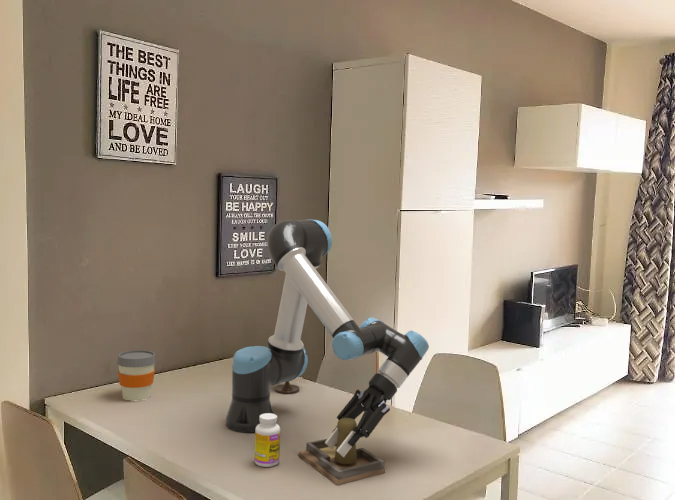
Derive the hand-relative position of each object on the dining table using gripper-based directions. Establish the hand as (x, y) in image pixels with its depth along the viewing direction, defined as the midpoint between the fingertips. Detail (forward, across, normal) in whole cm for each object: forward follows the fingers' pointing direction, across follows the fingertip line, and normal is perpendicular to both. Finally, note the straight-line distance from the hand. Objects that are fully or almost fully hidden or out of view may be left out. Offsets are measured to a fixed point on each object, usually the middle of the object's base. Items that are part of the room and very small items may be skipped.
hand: (334, 449), depth 169 cm
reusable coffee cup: (+25, +81, +17) cm, 86 cm away
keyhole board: (+1, +2, -6) cm, 7 cm away
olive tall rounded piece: (0, 0, -5) cm, 5 cm away
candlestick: (-10, +65, -19) cm, 69 cm away
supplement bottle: (+14, +12, +6) cm, 19 cm away
